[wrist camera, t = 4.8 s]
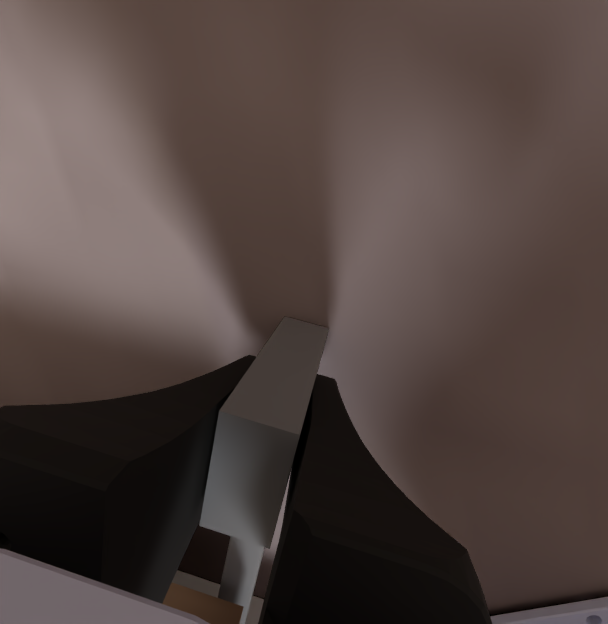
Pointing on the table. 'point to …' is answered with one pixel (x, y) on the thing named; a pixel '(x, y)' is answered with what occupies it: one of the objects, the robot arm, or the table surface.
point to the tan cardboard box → (203, 605)
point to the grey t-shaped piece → (257, 458)
